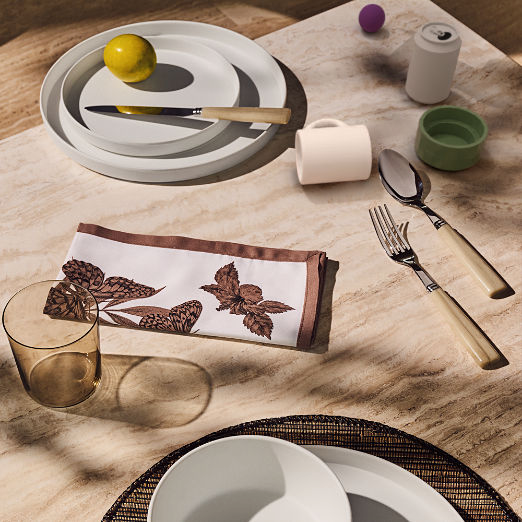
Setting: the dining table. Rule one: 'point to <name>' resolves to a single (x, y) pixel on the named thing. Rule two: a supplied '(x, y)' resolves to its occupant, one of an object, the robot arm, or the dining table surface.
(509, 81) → the dining table surface
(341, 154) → the mug
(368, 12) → the ball
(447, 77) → the can
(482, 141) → the bowl
